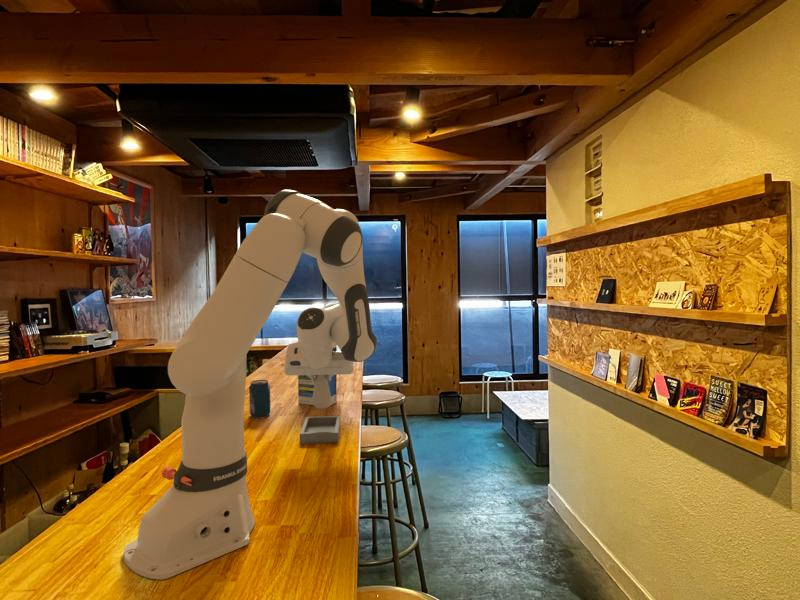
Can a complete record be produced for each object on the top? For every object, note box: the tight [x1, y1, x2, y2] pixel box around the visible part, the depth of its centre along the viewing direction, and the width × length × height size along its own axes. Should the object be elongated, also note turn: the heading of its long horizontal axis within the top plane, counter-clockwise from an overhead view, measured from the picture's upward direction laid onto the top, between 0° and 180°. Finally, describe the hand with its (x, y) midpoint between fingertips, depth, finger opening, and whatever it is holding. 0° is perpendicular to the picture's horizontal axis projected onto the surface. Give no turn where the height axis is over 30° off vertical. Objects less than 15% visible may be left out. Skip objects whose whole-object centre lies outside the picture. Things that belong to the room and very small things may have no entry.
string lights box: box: [297, 340, 338, 408], centre depth 176 cm, size 13×8×26 cm, turn 72°
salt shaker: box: [312, 375, 331, 410], centre depth 142 cm, size 6×6×13 cm
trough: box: [299, 415, 341, 445], centre depth 142 cm, size 16×11×3 cm
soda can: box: [248, 379, 271, 419], centre depth 161 cm, size 7×7×12 cm
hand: (321, 378), depth 142 cm, fingers closed on salt shaker, 3 cm apart
